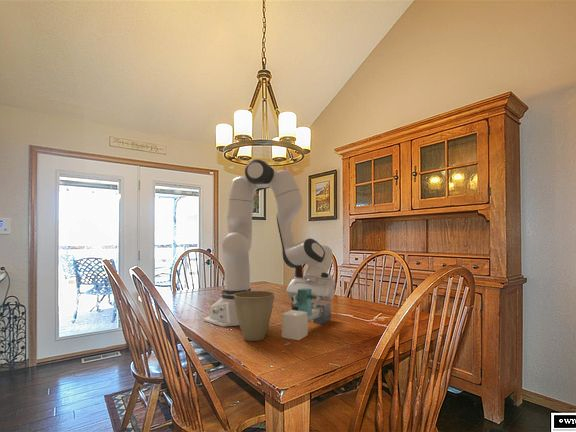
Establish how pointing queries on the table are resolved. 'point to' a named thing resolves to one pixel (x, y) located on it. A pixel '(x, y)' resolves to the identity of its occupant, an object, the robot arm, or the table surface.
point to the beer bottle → (297, 274)
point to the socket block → (294, 324)
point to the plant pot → (254, 313)
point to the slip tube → (307, 304)
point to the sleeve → (324, 313)
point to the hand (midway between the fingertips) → (303, 306)
